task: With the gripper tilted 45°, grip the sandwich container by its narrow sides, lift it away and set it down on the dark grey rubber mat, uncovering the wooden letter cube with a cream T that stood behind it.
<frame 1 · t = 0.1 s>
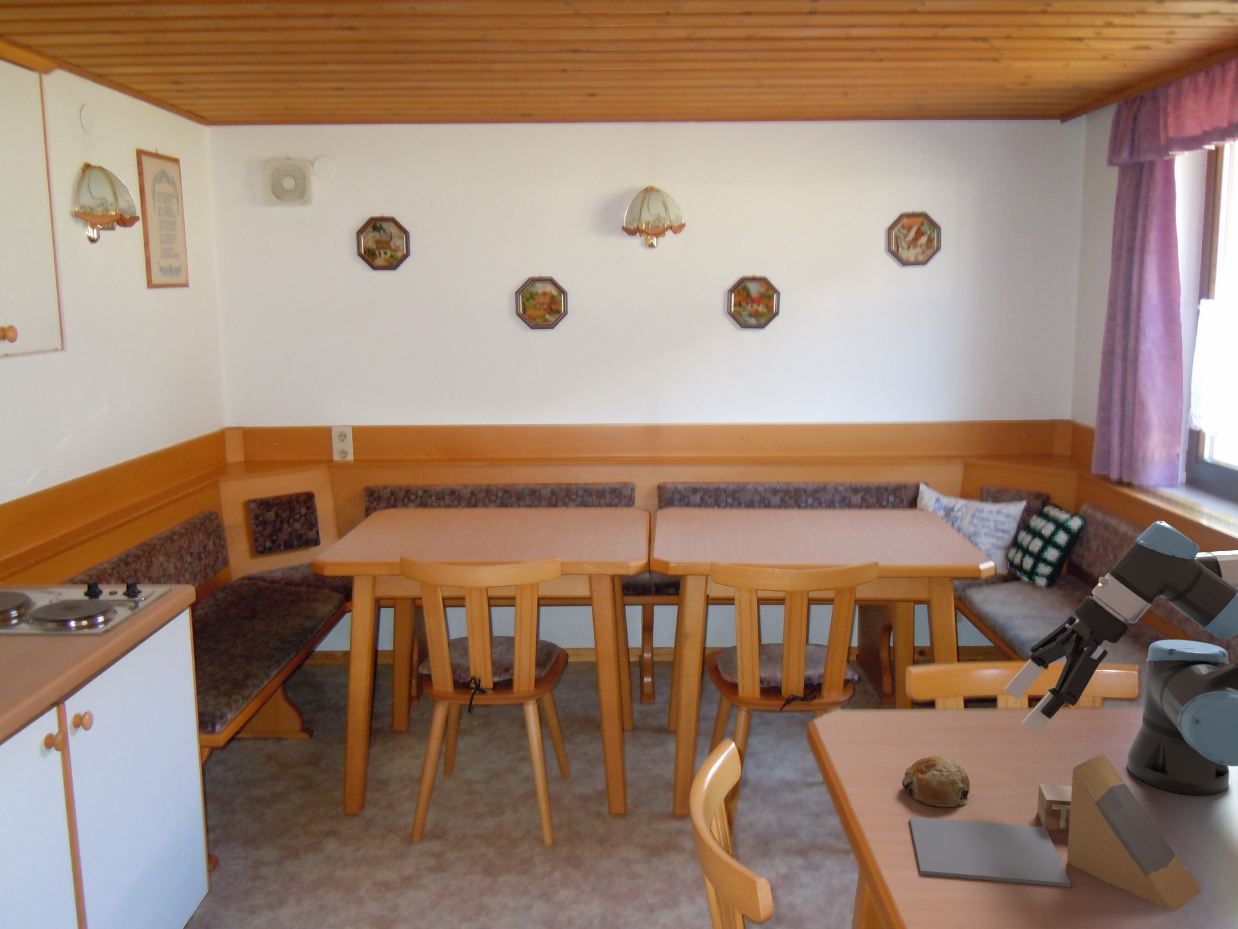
hand: (1019, 711, 164), 15 cm above the table, tool tilted 35°, fingers open, 13 cm apart
bread roll: (934, 795, 169), on the table
wooden letter cube: (1057, 823, 160), on the table
sandwich container: (1133, 878, 145), on the table
grey rubber mat: (985, 851, 151), on the table
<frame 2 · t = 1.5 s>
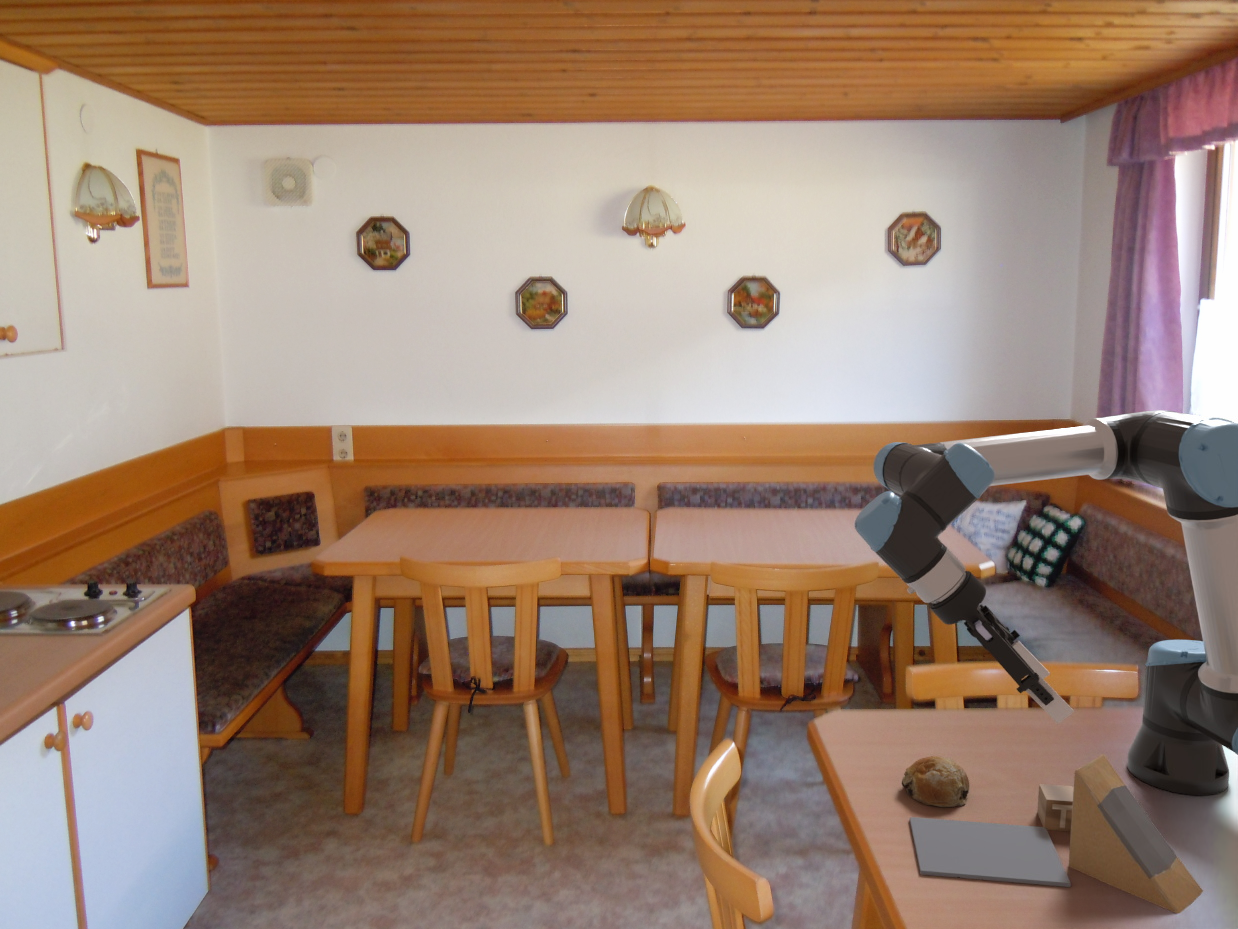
hand: (1053, 697, 143), 26 cm above the table, tool tilted 45°, fingers open, 13 cm apart
nothing on the table moved.
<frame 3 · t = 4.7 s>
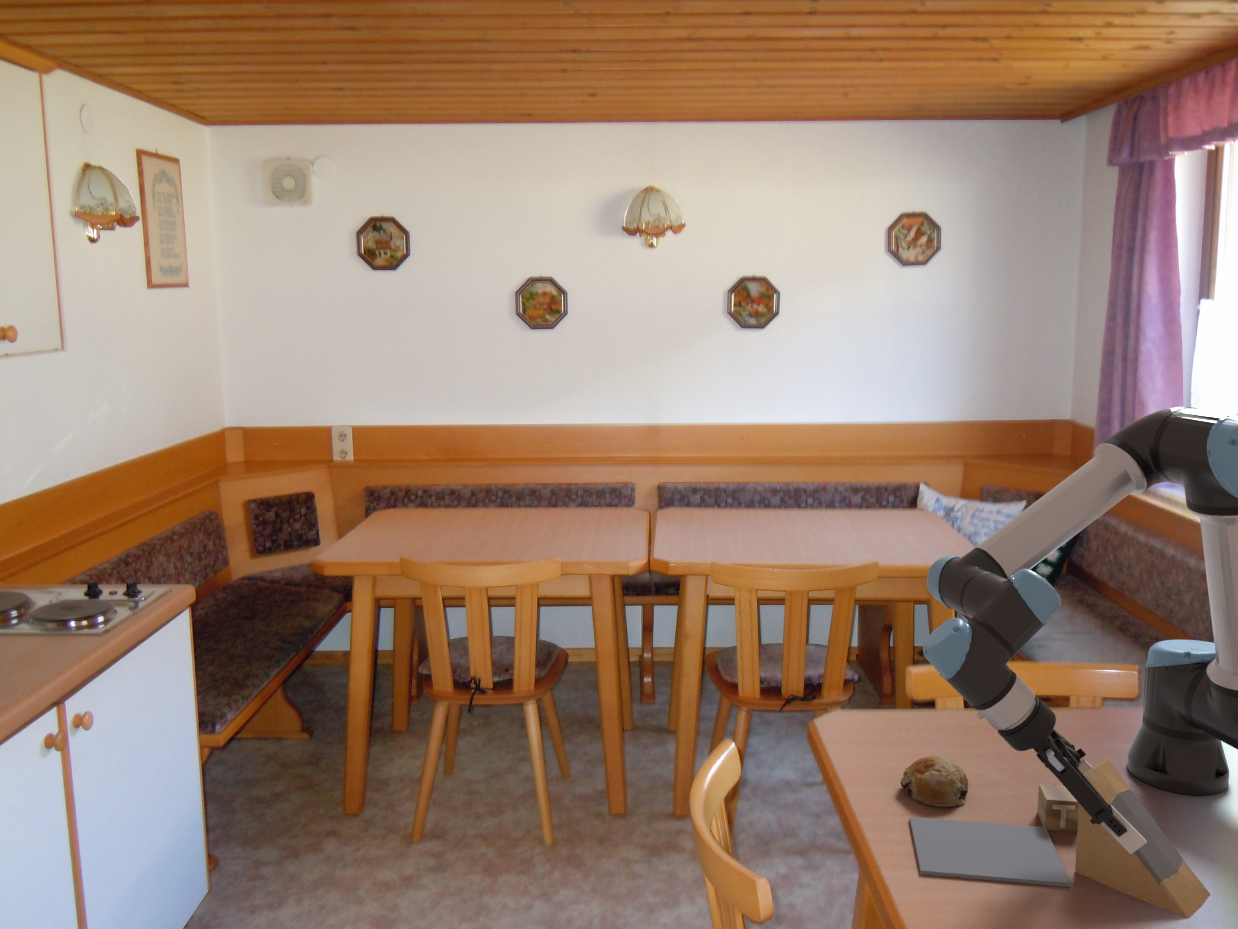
hand: (1122, 821, 144), 8 cm above the table, tool tilted 45°, fingers open, 13 cm apart
sandwich container: (1141, 885, 143), on the table
everything else where it was.
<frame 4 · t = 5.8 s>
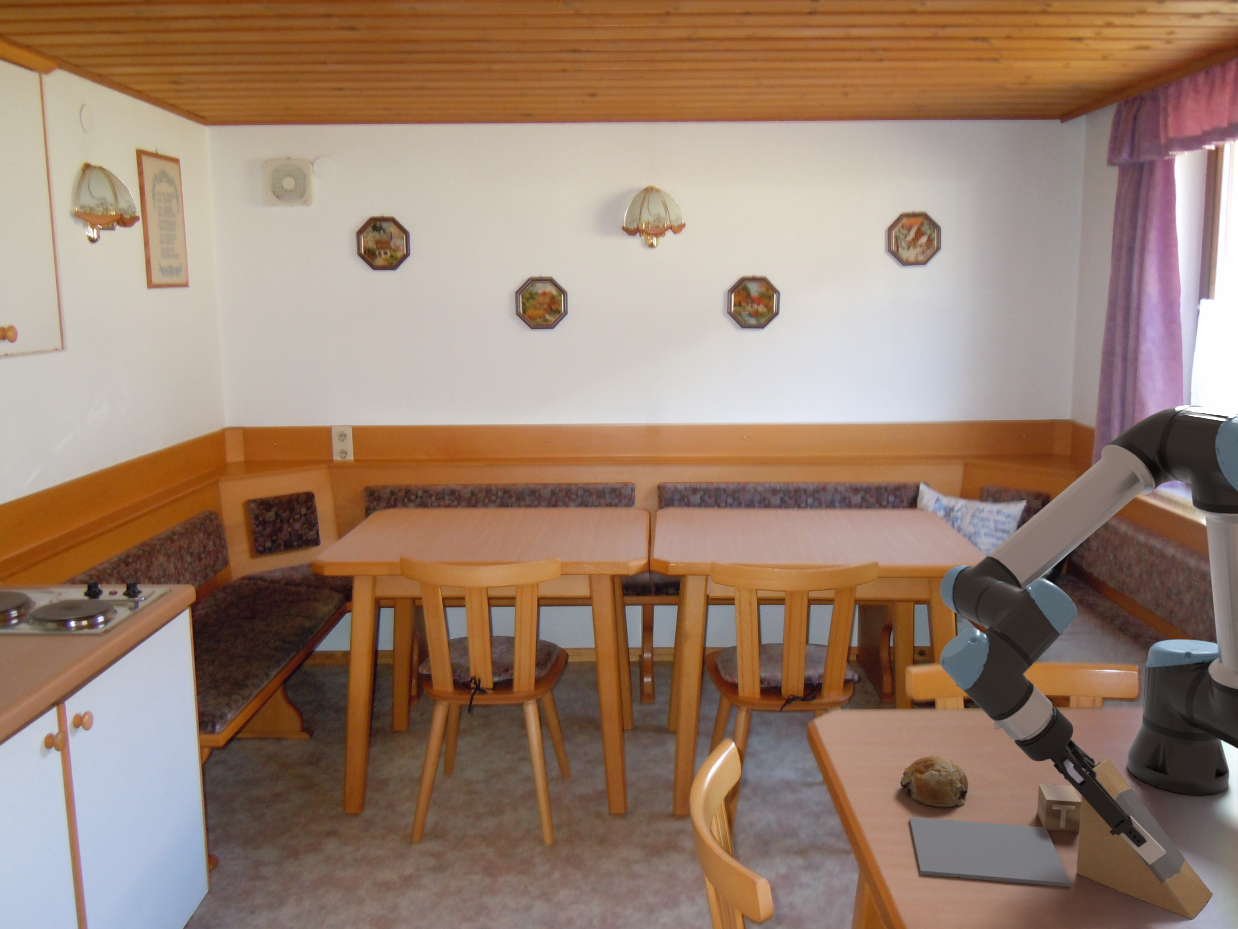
hand: (1142, 833, 144), 6 cm above the table, tool tilted 45°, fingers closed on sandwich container, 12 cm apart
sandwich container: (1143, 885, 143), on the table, touching gripper
everything else where it was.
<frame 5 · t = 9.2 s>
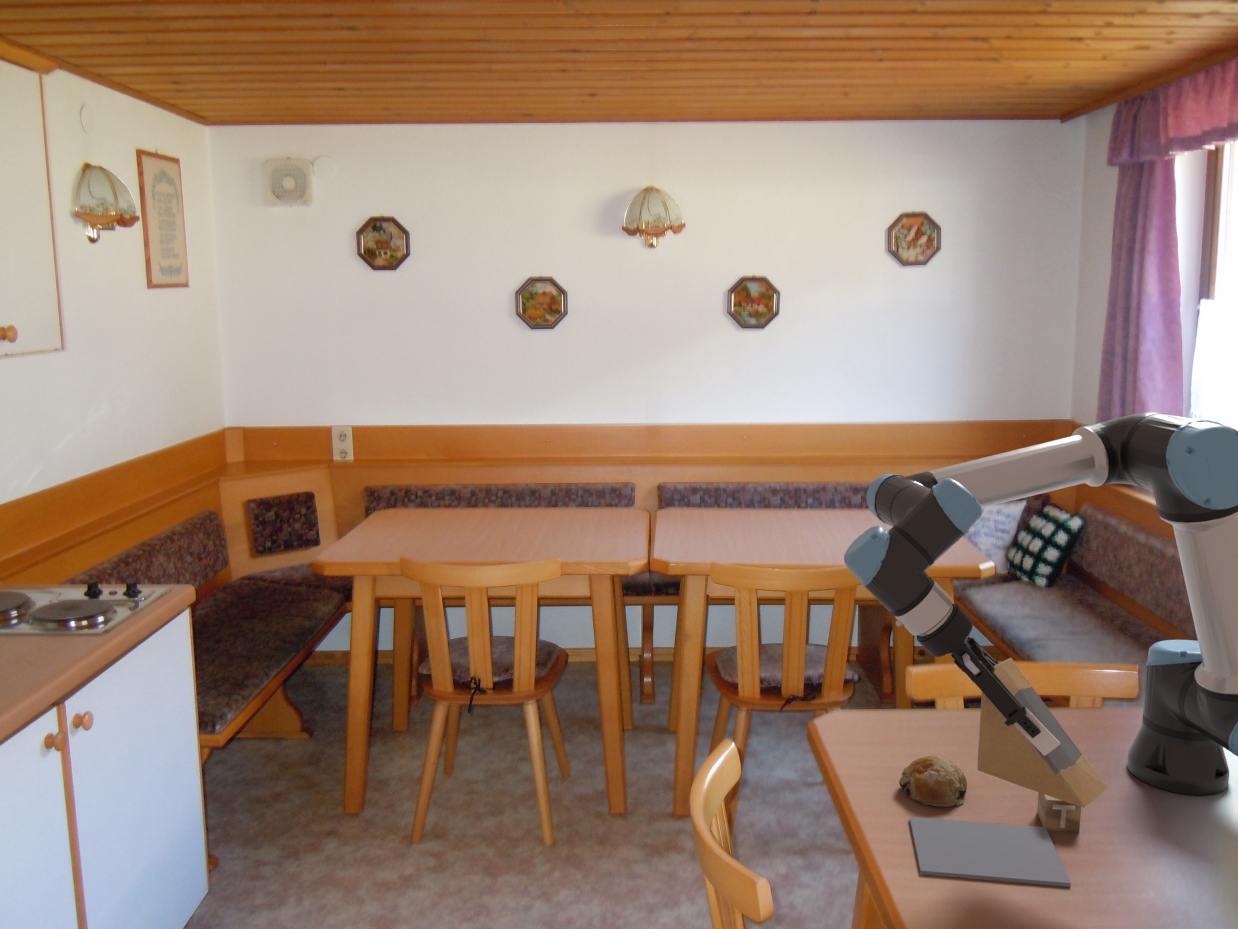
hand: (1041, 730, 146), 20 cm above the table, tool tilted 45°, fingers closed on sandwich container, 12 cm apart
sandwich container: (1041, 780, 145), point 13 cm above the table, touching gripper
everything else where it was.
when the fingers open (8 cm above the table, at t = 12.5 s): sandwich container stays where it is, resting on grey rubber mat.
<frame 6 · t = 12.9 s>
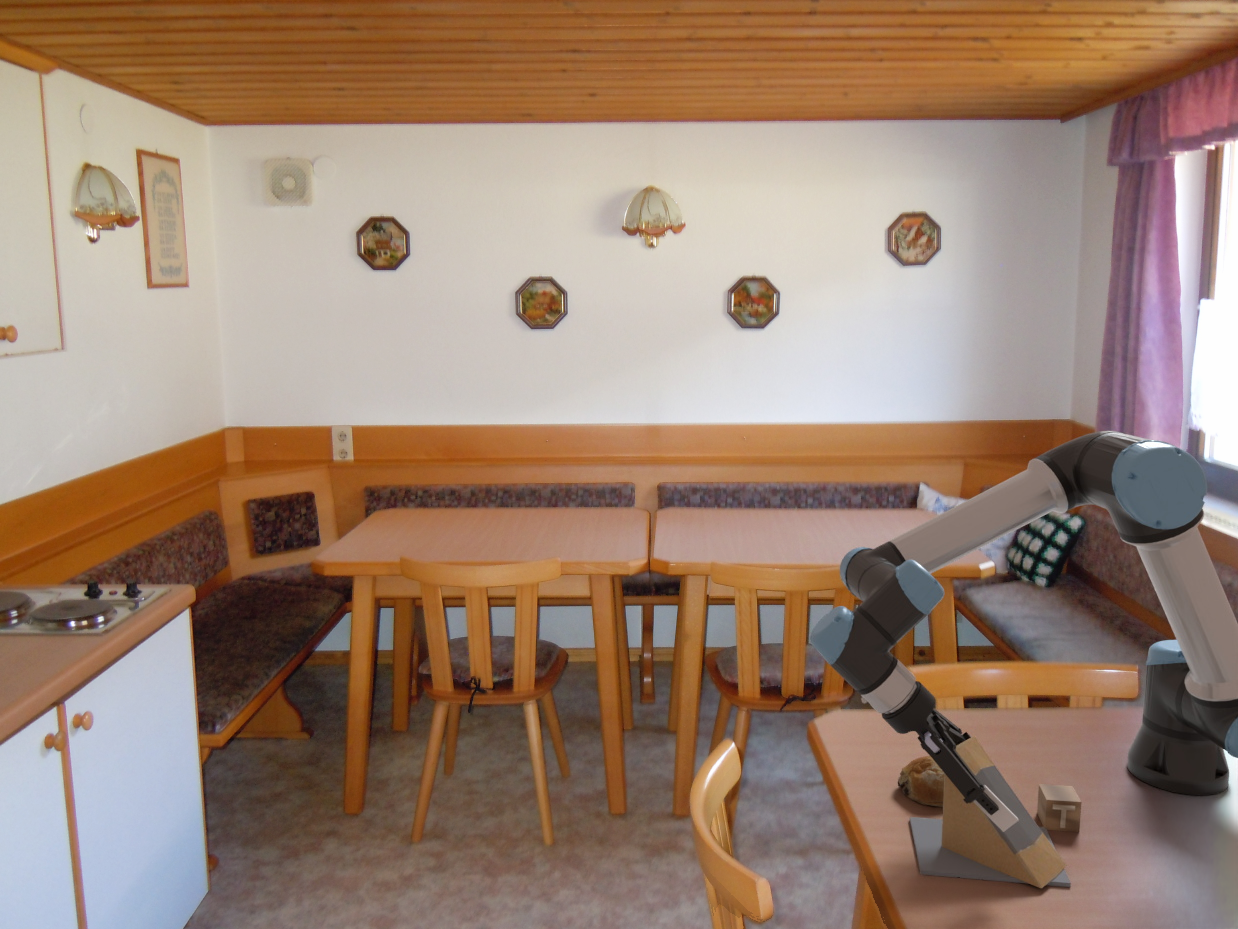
hand: (1001, 801, 150), 8 cm above the table, tool tilted 45°, fingers open, 13 cm apart
sandwich container: (1003, 857, 149), resting on grey rubber mat
everything else where it was.
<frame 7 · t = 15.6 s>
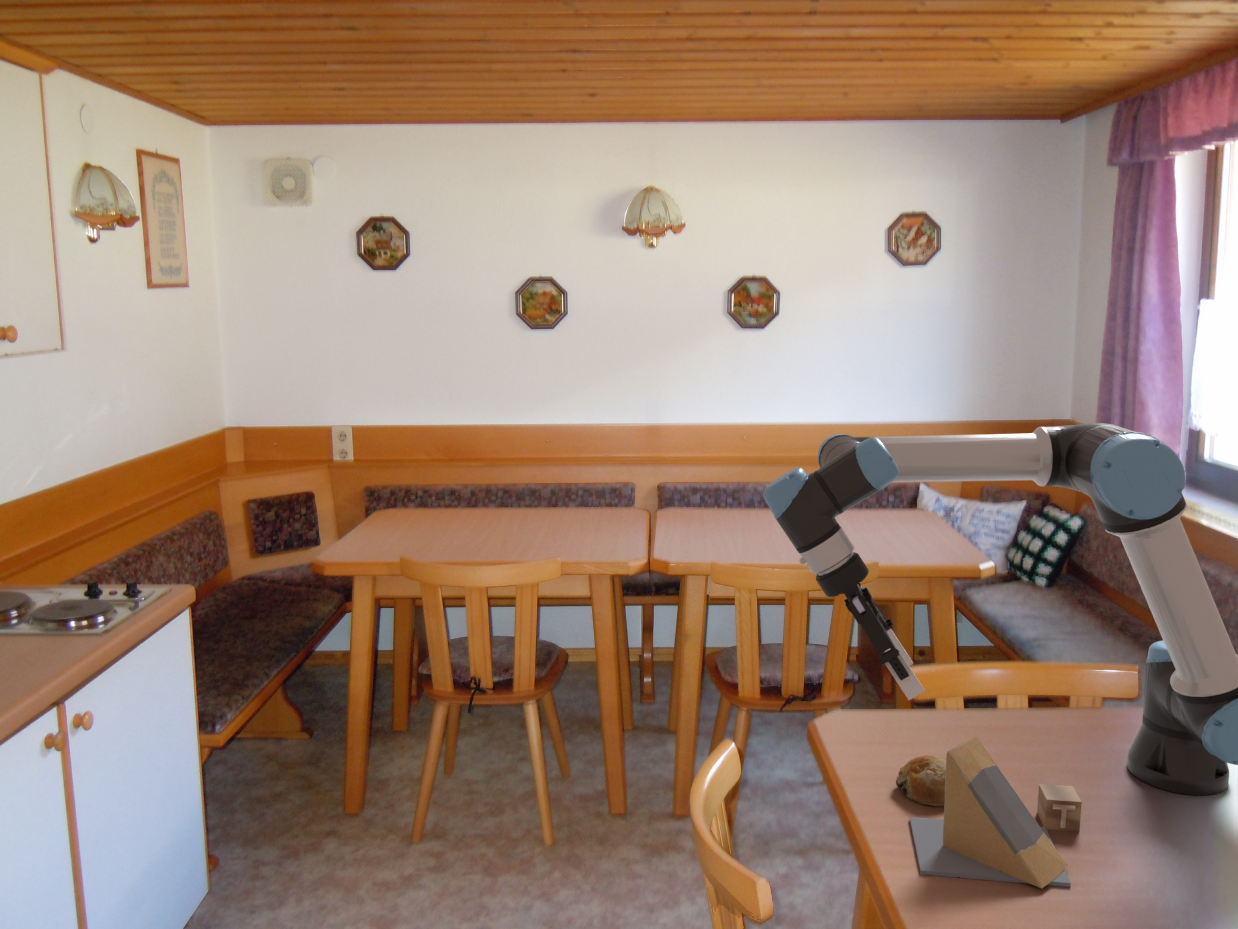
hand: (911, 680, 157), 23 cm above the table, tool tilted 35°, fingers open, 13 cm apart
nothing on the table moved.
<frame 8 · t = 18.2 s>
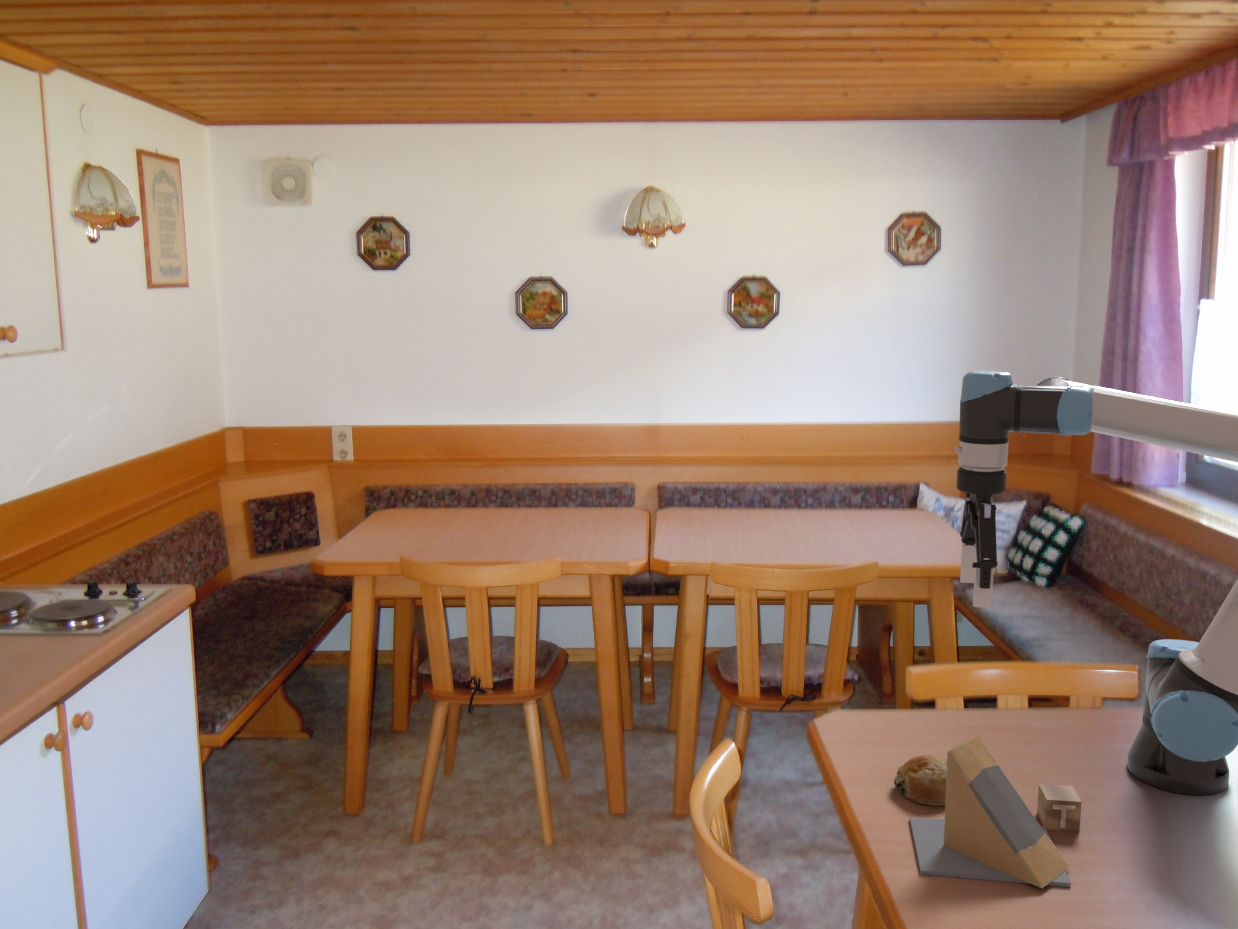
hand: (975, 594, 170), 32 cm above the table, tool pointing down, fingers open, 13 cm apart
at the end: sandwich container inside the target area (3.0 cm from its centre), resting on grey rubber mat; sandwich container tilted 0°; wooden letter cube moved 0.1 cm from its start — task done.
